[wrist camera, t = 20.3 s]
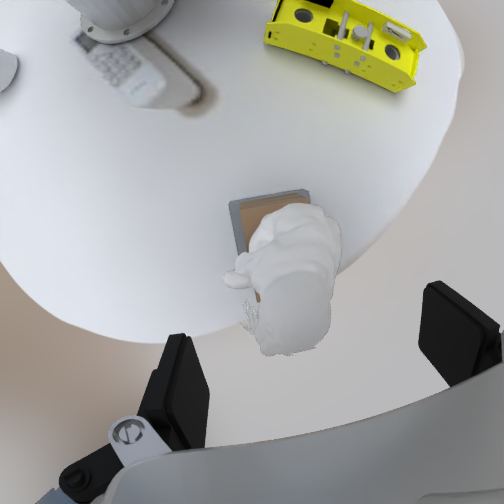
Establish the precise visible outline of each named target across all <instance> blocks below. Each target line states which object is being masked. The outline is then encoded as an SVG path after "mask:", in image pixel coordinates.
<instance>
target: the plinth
mask: <svg viewBox="0 0 504 504" xmlns="http://www.w3.org/2000/svg"><path fill="white" fill-rule="evenodd" d="M290 193H298V194H300V195H302V196H304V197H306V198H308V201H309V204H310V198H309V191H307V190H304V189H300V190H293V191H287V192H281V193H275V194H269V195H263V196H258V197H252V198H246V199H241V200H235V201H230V203H229V210H230V215H231V220H232V226H233V231H234V236H235V241H236V246H237V251H238V256H239V255H240V254H241V253H243V252H247V247H246V242H245V237H244V231H243V226H242V221H241V216H240V203H241V202H244V201H249V200H255V199H260V198H266V197H272V196H278V195H284V194H290ZM247 253H248V252H247Z"/></svg>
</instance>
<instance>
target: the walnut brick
mask: <svg viewBox="0 0 504 504" xmlns="http://www.w3.org/2000/svg"><path fill="white" fill-rule="evenodd" d="M292 203H305V204H309V201H308V198H306V197H304V196H302V195H300V194H298V193H290V194H284V195H278V196H272V197H266V198H260V199H255V200H249V201H244V202H241V203H240V216H241V221H242V226H243V231H244V237H245V242H246V247H247V252H248V253H249V243H250V239H251V237H252V235H253V234H254V232H255V231H256V230H257V228H258V227H259V225H260V224H261V220H262V218H263V217H264V216H265V215H267V214H271V213H273V212H275V211H277V210H279V209H281V208H283V207H284V206H286V205H288V204H292ZM255 294H256V299H257V302H260V301H261V300H260V294H259V293H257V292H256V291H255Z"/></svg>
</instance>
